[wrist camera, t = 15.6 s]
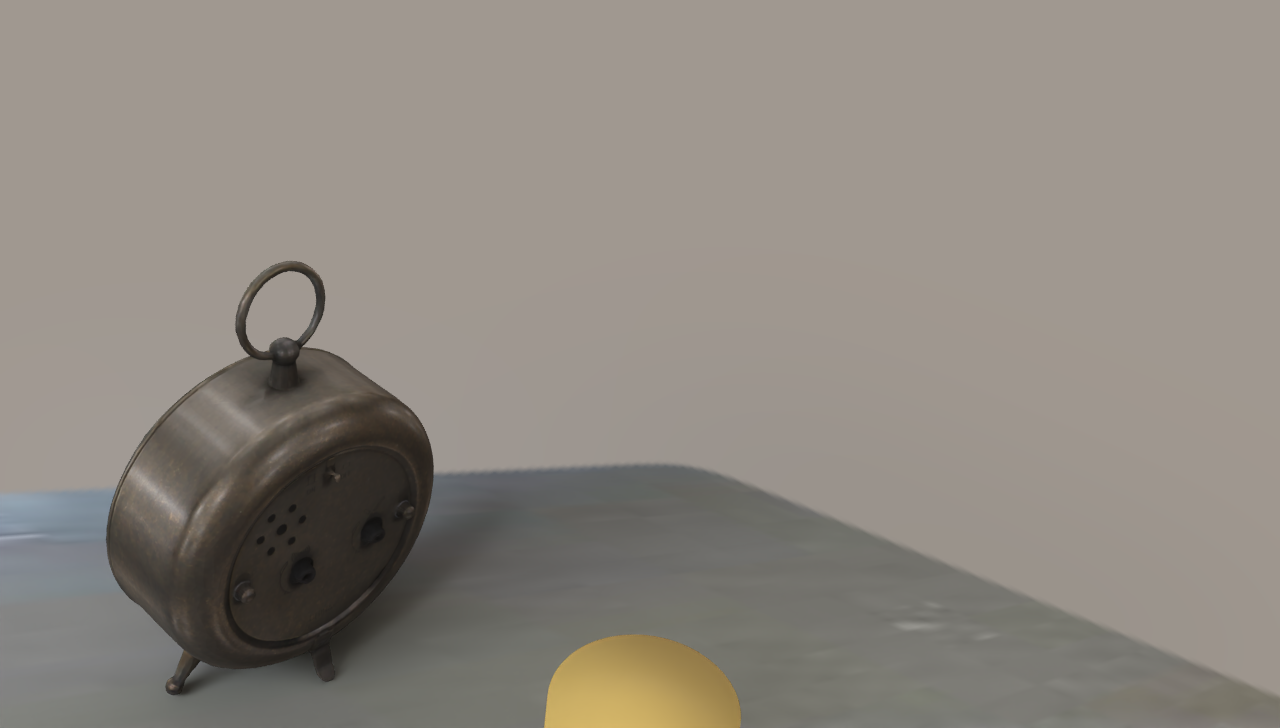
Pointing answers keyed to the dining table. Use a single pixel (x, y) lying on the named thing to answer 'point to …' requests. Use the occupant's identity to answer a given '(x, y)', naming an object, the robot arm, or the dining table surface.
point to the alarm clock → (270, 503)
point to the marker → (640, 687)
